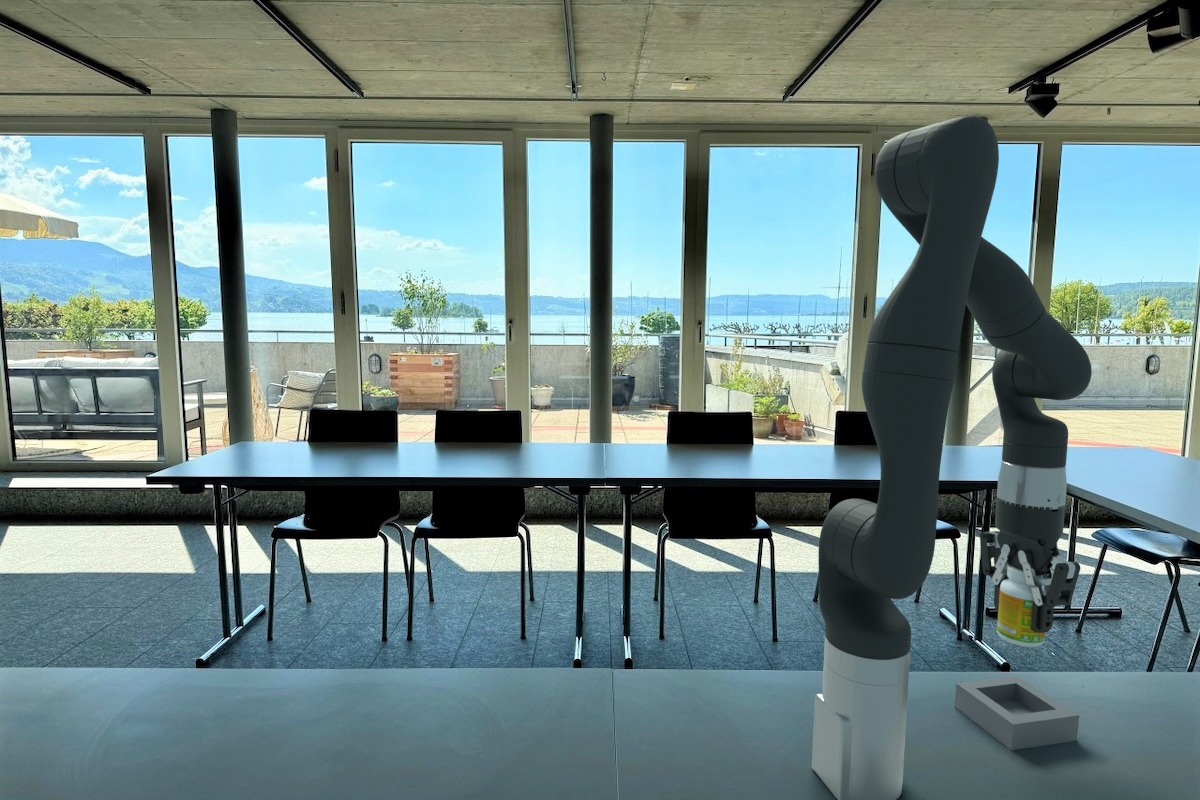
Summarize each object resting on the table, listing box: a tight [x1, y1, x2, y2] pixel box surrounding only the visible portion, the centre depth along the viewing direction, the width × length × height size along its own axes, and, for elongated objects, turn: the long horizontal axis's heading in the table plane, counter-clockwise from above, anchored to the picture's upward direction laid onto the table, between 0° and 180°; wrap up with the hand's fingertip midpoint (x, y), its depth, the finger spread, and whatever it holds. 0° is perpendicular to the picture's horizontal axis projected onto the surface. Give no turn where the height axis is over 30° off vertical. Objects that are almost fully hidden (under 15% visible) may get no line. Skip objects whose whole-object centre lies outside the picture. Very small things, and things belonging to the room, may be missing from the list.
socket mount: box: [954, 675, 1080, 751], centre depth 92 cm, size 10×10×4 cm
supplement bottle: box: [996, 565, 1046, 648], centre depth 90 cm, size 5×5×10 cm
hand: (1021, 620), depth 90 cm, fingers closed on supplement bottle, 5 cm apart
